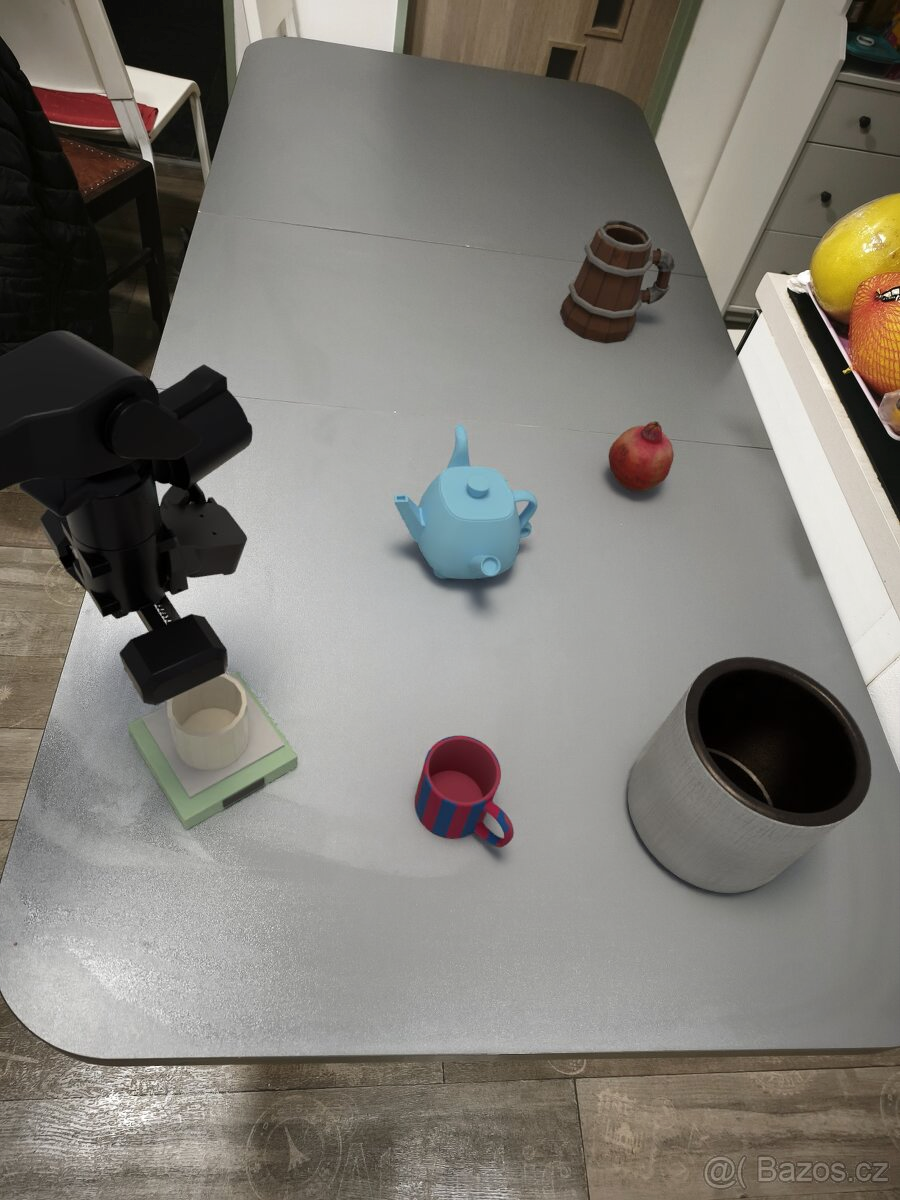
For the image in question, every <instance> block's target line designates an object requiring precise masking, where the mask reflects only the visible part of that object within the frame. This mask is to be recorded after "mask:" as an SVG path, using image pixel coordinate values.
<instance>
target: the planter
mask: <svg viewBox="0 0 900 1200" xmlns="http://www.w3.org/2000/svg"><path fill="white" fill-rule="evenodd" d="M871 782H872V760H871V754H870V751H869V747H868V744H867V741H866V738H865V736H864V734H863V732H862V730H861V728H860V727H859V724H858V723H857V721H856V720H855V718H854V717H853V716H852V714H851V712H850V711H849V710H848V709H847V708H846V706H845V705H844V704H843V703H842V701H840V699H838V698H837V696H835V694H833V693H832V692H831V691H830V690H829V689H828V688H826V686H824V685H823V684H821V683H820V682H819V681H817V680H816V679H814V677H812V676H810V675H808V674H807V673H805V672H802V671H801V670H799V669H797V668H795V667H792V666H791V665H788V664H786V663H783V662H781V661H780V662H779V661H776V660H773V659H770V658H769V659H768V658H764V657H757V656H736V657H730V658H725V659H723V660H720V661H717V662H714V663H713V664H711V665H709V666H707V667H706V668H704V670H702V671H700V673H699V674H698V675H697V676H696V677H695V678H694V680H693V681H692V683H691V684H690V685H689V687H688V688H687V689H686V690H685V692H684V693H683V695H682V696H681V698H680V699H679V700H678V702H677V703H676V705H674V707H673V709H672V710H671V711H670V713H668V716H667V717H666V718H665V720H664V721H663V722H662V723H661V725H660V726H659V728H658V729H657V731H655V732H654V734H653V735H652V737H651V739H649V741H648V742H647V743H646V745H645V747H644V748H642V750H641V752H640V753H639V754H638V756H637V758H636V759H635V762H634V764H633V766H632V769H631V771H630V775H629V778H628V782H627V804H628V809H629V814H630V817H631V821H632V823H633V825H634V827H635V830H636V831H637V834H638V836H639V838H640V839H641V841H642V842H643V844H644V845H645V847H646V848H647V850H648V851H649V853H651V855H652V856H653V857H654V858H655V859H656V860H657V861H658V862H659V863H660V864H661V865H662V866H664V868H666V869H667V870H668V871H669V872H671V873H672V874H673V875H675V876H676V877H678V878H680V880H682V881H684V882H686V883H689V884H691V885H693V886H695V887H698V888H700V889H703V890H707V891H711V892H714V893H721V894H737V893H738V894H739V893H744V892H748V891H752V890H755V889H758V888H760V887H762V886H764V885H766V884H768V883H769V882H771V881H772V880H774V879H775V878H776V877H778V876H779V875H781V874H782V872H784V871H785V870H786V869H787V868H788V867H790V866H791V865H793V864H794V863H795V862H796V861H797V860H798V859H800V858H801V857H802V856H803V855H804V854H806V852H808V851H809V850H810V849H811V848H812V847H814V846H815V845H817V843H818V842H820V841H821V840H822V839H824V838H825V837H826V836H827V835H829V834H830V833H831V832H832V831H833V830H835V829H836V828H837V827H839V826H840V825H841V824H842V823H843V822H845V821H846V820H847V819H849V818H850V817H851V816H852V815H853V814H855V813H856V812H857V811H858V809H859V808H861V806H862V805H863V803H864V801H865V800H866V798H867V796H868V794H869V791H870V787H871Z"/></svg>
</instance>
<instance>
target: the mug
mask: <svg viewBox="0 0 900 1200" xmlns="http://www.w3.org/2000/svg"><path fill="white" fill-rule="evenodd" d="M652 247H653V244H652V237H651V236H650V234H649V232H648V230H647V229H645V228H644V227H642V226H640V225H639V224H637V223H635V222H633V221H628V220H624V219H620V218H618V219H608V220H605V221H604V222H603V223H602V224H600V226H599V228H597V230H596V231H595V234H594V236H593V237H592V238H590V239H589V241H588V242H587V243H586V244H584V248H583V249H584V252H585V254H586V255H585V258H584V260H583V262H582V265H581V268H580V269H579V271H578V274H577V275H576V276H575V277H574V278H573V279H572V280H571V281H570V282H569V284H568V286H567V287H568V291H569V293H568V295H567V296H566V297H565V298H564V299H563V301H562V304H561V307H560V311H559V313H560V316H561V319H562V321H563V323H564V326H566V327H567V328H568V329H570V330H571V331H572V332H574V333H576V334H577V335H578V336H580V337H582V338H584V339H588V340H593V341H596V342H600V343H604V344H607V343H608V344H609V343H614V342H620V341H625V340H626V339H627V338H628V336H629V335H630V334H631V333H632V331H633V330H634V327H635V324H636V322H637V311H638V310H639V309H640V307H641V306H642V304H643V303H644V304H645V303H646V304H647V305H652V304H654V303H657V302H658V301H660V300H661V299H662V298H663V297H664V296H665V295H666V294H667V292H669V290H670V288H671V286H670V284H669V283H670V280H671V279H670V278H671V274H672V271H674V269H675V266H676V264H675V259H674V258H673V256H672V254H671V253H670V252H669V251H668V250H667V249H665V248H662V247H658V248H656V249H652ZM653 265H654V266H655V267H656V268H657V270H658V272H657V275H656V280H654V282H653V284H652V286H651V287H650V286H649V287H646V288H645V289H642V285H643V281H644V278H645V274H646V273H647V272H648V270H649V269H650V268H651V267H652V266H653Z"/></svg>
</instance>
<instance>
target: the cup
mask: <svg viewBox="0 0 900 1200" xmlns="http://www.w3.org/2000/svg"><path fill="white" fill-rule="evenodd" d="M501 769H502V768H501V765H500V762H499V759H498V758H497V756H496V754H495V753H494V751H493V750H492V749H491V748H490V747H489V746H488V745H487V744H485V743H484V742H483V741H481V740H479V739H477V738H474V737H471V736H468V735H452V736H447V737H444V738H442V739H440V740H438V741H437V742H436V743H434V745H432V746H431V748H430V749H429V750H428V752H427V753H426V755H425V760H424V762H423V766H422V770H421V773H420V776H419V780H418V784H417V788H416V792H415V795H414V809H415V812H416V815H417V817H418V819H419V821H420V822H421V823H422V825H423V826H424V827H425V828H426V829H427V830H428V831H430V832H432V833H433V834H435V835H437V836H439V837H442V838H447V839H460V838H465V837H468V836H470V835H471V834H473V833H475V834H476V835H477V836H479V837H480V838H481V839H482V840H484V841H485V842H487V843H488V844H490V845H492V846H494V847H495V848H504V847H506V846H507V845H508V844H509V843H510V842H511V841H512V840H513V838H514V836H515V835H514V834H515V831H514V826H513V822H512V821H511V819H510V817H509V816H508V815H507V814H506V812H505V811H504V810H503V809H502V808H501V807H499V805H498V804H496V803H495V802H494V801H493V800H494V798H495V796H496V793H497V791H498V789H499V786H500V784H501V778H502V770H501ZM487 814H489V815H490V816H491V818H493V819H494V820H495V821H496V823H497V824H498V825H499V827H500V828H501V830H502V832H503V837H500V836H499V835H497V834H495V833H494V831H492V830H491V829H489V828H488V826H486V825H485V823H484V820H485V818H486V815H487Z"/></svg>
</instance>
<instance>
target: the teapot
mask: <svg viewBox="0 0 900 1200" xmlns="http://www.w3.org/2000/svg"><path fill="white" fill-rule="evenodd" d="M454 429H455V430H454V431H455V433H454V434H455V441H454V442H455V443H454V446H453V447H454V448H453V452H452V453H451V457H450V460H449V462H448V464H447V467H446V468H445V469H443V471H441V472H440V473H439V474H438V475H437V476H436V477H435V478H434V479H433V480H431V482H430V484H429V485H428V486H427V487H426V489H425V491H424V492H423V493H422V496H421V498H420V501H419V503H418V505H417V504H416V503H415V502H414V501H413V500H412V499H411V498H410V497H409V496H408V494H407V493H405V494H394V495H393V500H394V506H395V507H396V509H397V511H398V512H399V514H400V517H401V519H402V520H403V523H404V524H405V526H406V528H407V530H408V532H409V534H410V536H411V538H412V540H413V542H416V543H417V545H418V548H419V550H420V552H421V554H422V555H423V557H424V559H425V560H426V562H427V564H428V565H429V566H430V567H431V568H432V569H433V570H432V572H433V574H434V576H436V577H437V578H439V579H443V580H446V579H450V578H451V579H457V580H458V579H461V580H468V579H469V580H472V579H473V580H475V579H483V578H493V577H496V576H498V575H500V574H503V573H505V572H506V571H508V570H509V569H510V568H512V566H513V565H514V564H515V562H516V560H517V557H518V553H519V548H520V540H521V539H525V538H527V537H529V536H530V534H531V533H532V524H531V522H530V521H531V519H532V518H533V516H534V515H535V514H536V511H537V509H538V500H537V497H536V496H535V494H534V493H532V492H531V491H529V490H526V489H515V490H512V489H511V487H510V485H509V483H508V482H507V479H506V478H505V477H504V475H502V473H500V471H498V470H497V469H494V468H492V467H487V466H478V465H477V466H476V465H475V466H474V465H473V466H472V465H471V462H470V453H469V443H468V442H469V441H468V433H467V431H466V428H465V426H464V425H463V424H461V423H457V424H456V426H455V428H454ZM519 502H520V503H521V502H528V503H527V505H526V507H524V509H523V510H522V512H521V513H520V514H519V511H518V507H517V504H516V503H519Z"/></svg>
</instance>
